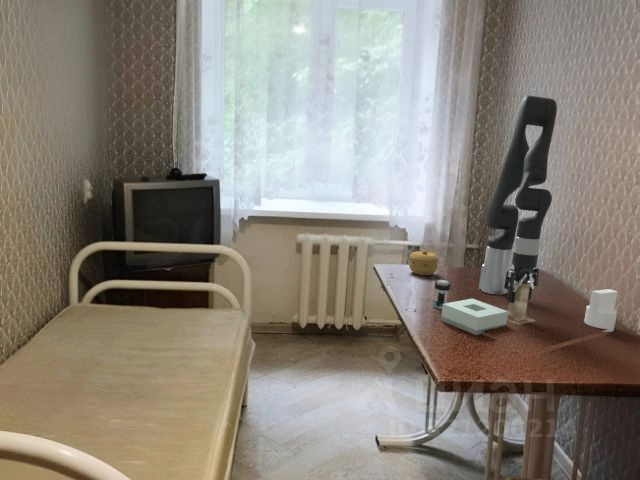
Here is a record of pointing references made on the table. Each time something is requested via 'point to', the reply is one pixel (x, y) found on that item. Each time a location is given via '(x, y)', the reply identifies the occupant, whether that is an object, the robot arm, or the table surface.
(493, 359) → the table surface
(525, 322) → the coaster
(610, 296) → the cylinder with rectangular tab
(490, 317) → the socket block
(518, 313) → the pin
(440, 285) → the push button
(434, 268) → the pot
